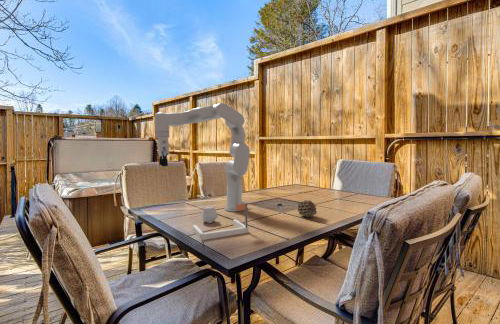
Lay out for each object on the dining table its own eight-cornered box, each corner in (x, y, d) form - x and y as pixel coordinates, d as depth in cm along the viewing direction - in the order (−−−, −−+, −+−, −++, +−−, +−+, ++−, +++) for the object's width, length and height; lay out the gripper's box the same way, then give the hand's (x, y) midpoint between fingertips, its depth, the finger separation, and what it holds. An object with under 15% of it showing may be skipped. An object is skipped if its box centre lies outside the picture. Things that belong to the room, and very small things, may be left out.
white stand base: (235, 224, 147) (235, 197, 146) (248, 232, 133) (248, 203, 132) (192, 230, 137) (191, 202, 136) (201, 240, 123) (200, 208, 122)
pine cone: (322, 219, 155) (322, 201, 155) (308, 221, 151) (308, 203, 150) (298, 210, 175) (298, 194, 174) (285, 212, 171) (285, 196, 170)
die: (221, 222, 152) (217, 206, 157) (214, 218, 144) (211, 201, 149) (206, 228, 153) (203, 211, 158) (199, 224, 145) (196, 206, 150)
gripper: (171, 134, 150) (172, 166, 151) (166, 135, 166) (167, 164, 167) (157, 134, 147) (158, 167, 148) (153, 135, 163) (154, 164, 164)
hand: (163, 165), depth 158 cm, fingers open, 9 cm apart
